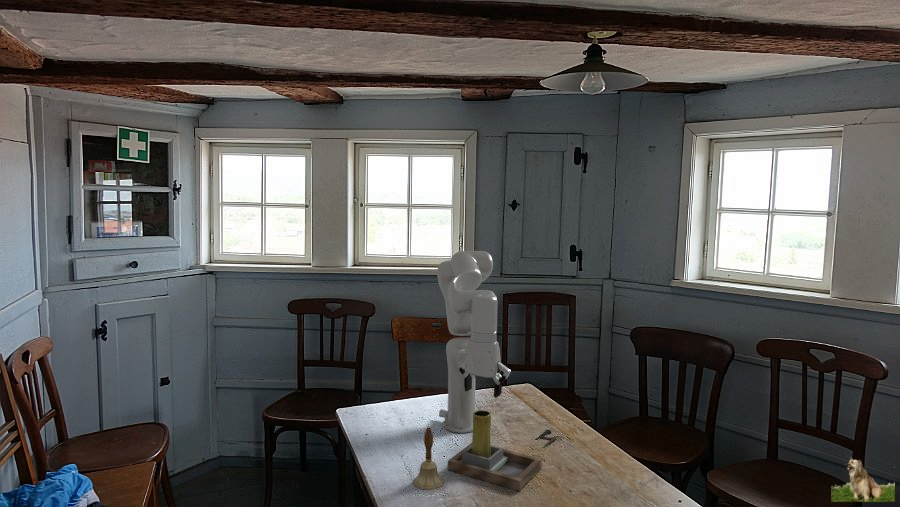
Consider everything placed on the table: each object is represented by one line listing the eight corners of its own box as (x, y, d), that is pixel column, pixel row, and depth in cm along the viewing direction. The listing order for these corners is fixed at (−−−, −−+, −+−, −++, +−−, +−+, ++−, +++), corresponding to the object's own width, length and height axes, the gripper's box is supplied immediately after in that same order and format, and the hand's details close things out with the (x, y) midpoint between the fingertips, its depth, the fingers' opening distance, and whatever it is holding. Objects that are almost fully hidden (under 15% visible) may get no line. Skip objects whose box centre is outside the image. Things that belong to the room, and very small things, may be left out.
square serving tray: (456, 467, 169) (457, 453, 169) (475, 452, 180) (476, 439, 179) (490, 476, 164) (490, 462, 163) (507, 460, 174) (508, 447, 174)
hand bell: (446, 487, 159) (447, 432, 157) (417, 491, 156) (417, 435, 155) (438, 474, 166) (439, 420, 165) (410, 477, 164) (411, 423, 163)
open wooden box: (447, 470, 169) (447, 460, 168) (473, 450, 182) (473, 441, 182) (519, 491, 157) (520, 481, 157) (541, 468, 171) (541, 459, 170)
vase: (493, 456, 174) (494, 411, 172) (488, 465, 168) (489, 418, 167) (474, 453, 176) (475, 408, 174) (468, 462, 170) (469, 415, 169)
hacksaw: (546, 431, 199) (547, 427, 199) (574, 439, 193) (574, 435, 193) (512, 456, 180) (512, 451, 179) (541, 465, 174) (541, 461, 173)
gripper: (451, 335, 170) (451, 391, 171) (505, 343, 161) (503, 402, 163) (464, 330, 176) (463, 384, 178) (516, 338, 167) (514, 395, 169)
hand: (482, 393), depth 170 cm, fingers open, 9 cm apart
